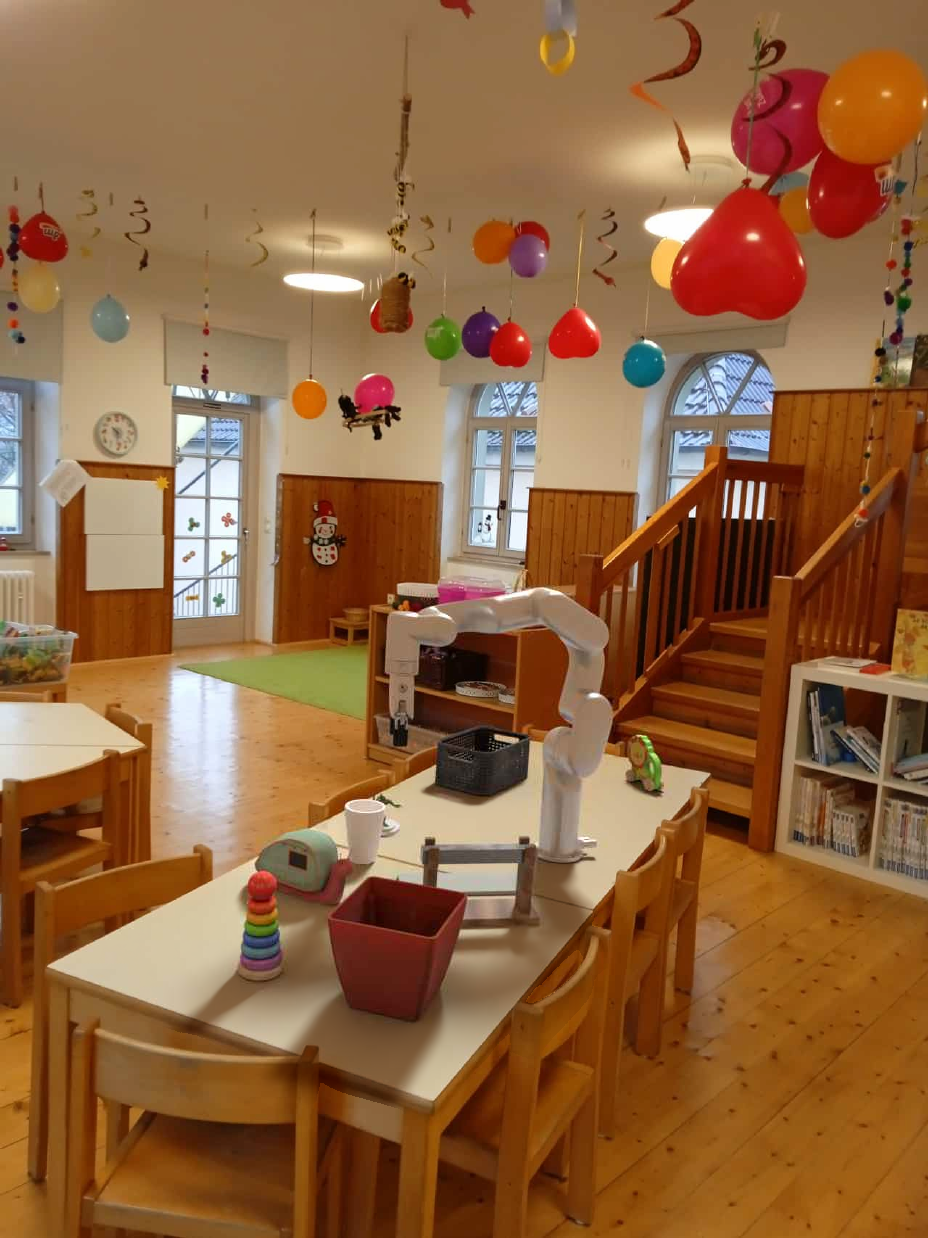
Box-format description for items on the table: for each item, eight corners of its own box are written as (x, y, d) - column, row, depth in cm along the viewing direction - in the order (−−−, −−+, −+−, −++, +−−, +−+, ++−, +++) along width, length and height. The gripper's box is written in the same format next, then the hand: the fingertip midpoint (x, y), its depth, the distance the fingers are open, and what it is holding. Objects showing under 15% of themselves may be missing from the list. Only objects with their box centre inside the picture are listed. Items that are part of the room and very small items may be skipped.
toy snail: (248, 882, 204) (250, 821, 202) (273, 871, 210) (275, 812, 209) (338, 915, 191) (341, 851, 189) (361, 903, 198) (364, 840, 196)
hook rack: (528, 905, 201) (533, 833, 199) (539, 924, 193) (544, 850, 190) (412, 907, 197) (417, 834, 194) (418, 927, 188) (423, 851, 186)
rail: (533, 857, 197) (534, 843, 196) (537, 863, 194) (538, 849, 193) (420, 858, 192) (421, 844, 192) (422, 864, 189) (423, 850, 189)
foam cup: (389, 856, 223) (392, 803, 221) (372, 870, 215) (375, 815, 213) (353, 849, 226) (355, 797, 224) (335, 862, 218) (338, 808, 216)
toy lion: (664, 792, 286) (669, 743, 284) (649, 793, 284) (654, 744, 282) (634, 776, 300) (638, 730, 298) (620, 777, 298) (624, 731, 296)
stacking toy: (241, 960, 171) (244, 862, 169) (285, 960, 172) (289, 863, 169) (234, 982, 163) (237, 880, 161) (280, 983, 164) (284, 881, 161)
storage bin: (478, 764, 304) (481, 723, 302) (531, 776, 294) (534, 735, 292) (430, 784, 279) (432, 741, 277) (486, 799, 269) (489, 754, 268)
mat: (517, 875, 217) (518, 872, 217) (528, 893, 207) (528, 890, 207) (397, 877, 211) (397, 873, 211) (402, 896, 202) (402, 892, 202)
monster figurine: (361, 839, 233) (363, 799, 231) (346, 822, 244) (348, 784, 242) (406, 834, 238) (408, 795, 236) (390, 818, 249) (392, 781, 247)
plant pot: (365, 960, 174) (369, 873, 172) (463, 981, 169) (469, 892, 166) (320, 1013, 156) (324, 917, 153) (429, 1038, 150) (435, 939, 148)
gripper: (422, 674, 203) (418, 751, 206) (414, 659, 220) (410, 730, 223) (388, 673, 202) (384, 750, 204) (382, 658, 219) (379, 730, 221)
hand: (398, 740), depth 213 cm, fingers open, 9 cm apart
